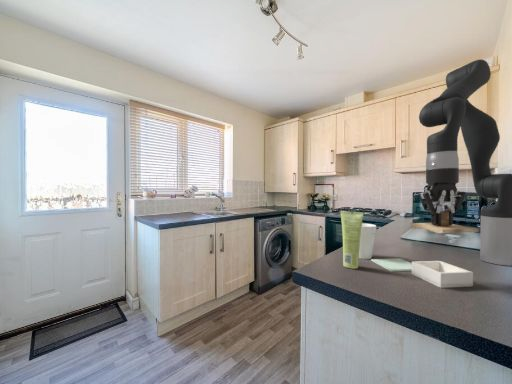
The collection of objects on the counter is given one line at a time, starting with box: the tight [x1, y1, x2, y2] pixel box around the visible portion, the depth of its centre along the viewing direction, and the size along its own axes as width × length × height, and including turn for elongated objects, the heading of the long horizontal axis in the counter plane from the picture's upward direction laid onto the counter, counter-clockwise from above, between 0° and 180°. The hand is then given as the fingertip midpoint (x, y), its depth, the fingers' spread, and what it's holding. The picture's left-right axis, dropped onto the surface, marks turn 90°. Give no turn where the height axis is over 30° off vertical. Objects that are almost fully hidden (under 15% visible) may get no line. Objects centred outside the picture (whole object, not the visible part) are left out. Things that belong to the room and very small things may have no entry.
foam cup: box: [359, 222, 377, 260], centre depth 89 cm, size 10×9×13 cm
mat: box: [370, 257, 412, 273], centre depth 79 cm, size 12×11×1 cm
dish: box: [411, 260, 474, 289], centre depth 66 cm, size 10×10×4 cm
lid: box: [410, 210, 480, 234], centre depth 66 cm, size 11×11×5 cm
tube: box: [340, 210, 364, 270], centre depth 77 cm, size 6×5×20 cm
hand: (441, 224), depth 66 cm, fingers closed on lid, 3 cm apart
